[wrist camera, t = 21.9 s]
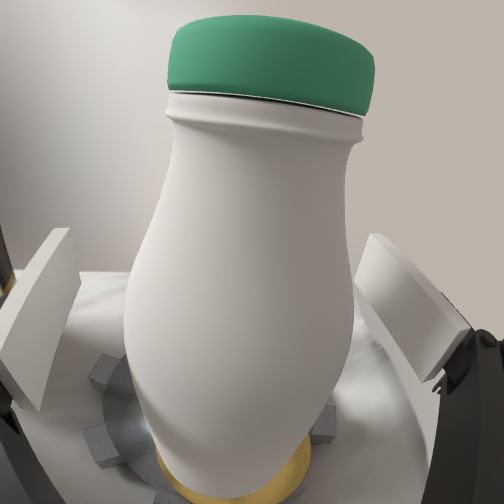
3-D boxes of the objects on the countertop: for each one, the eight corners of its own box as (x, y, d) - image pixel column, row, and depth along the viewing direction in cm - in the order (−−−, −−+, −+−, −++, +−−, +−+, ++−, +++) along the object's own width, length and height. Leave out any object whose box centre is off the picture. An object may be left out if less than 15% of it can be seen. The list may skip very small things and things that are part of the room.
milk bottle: (306, 462, 15) (487, 100, 5) (198, 520, 11) (173, -100, 1) (241, 383, 20) (292, 64, 10) (142, 421, 16) (88, 45, 6)
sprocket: (161, 566, 9) (76, 585, 2) (66, 361, 22) (17, 223, 15) (373, 432, 20) (468, 308, 13) (239, 304, 33) (255, 181, 26)
